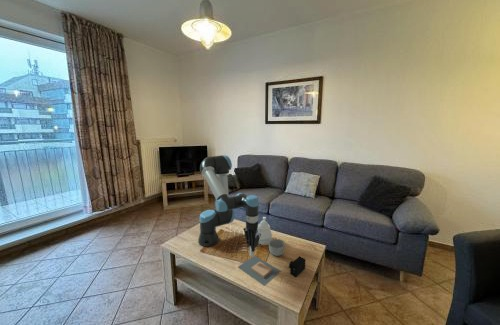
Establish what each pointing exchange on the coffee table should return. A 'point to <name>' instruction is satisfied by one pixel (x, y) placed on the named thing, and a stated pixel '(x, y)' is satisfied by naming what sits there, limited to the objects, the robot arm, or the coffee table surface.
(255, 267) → the tile
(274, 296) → the coffee table surface
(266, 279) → the mat
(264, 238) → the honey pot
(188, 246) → the coffee table surface
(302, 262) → the digital camera
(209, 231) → the robot arm
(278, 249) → the teacup
